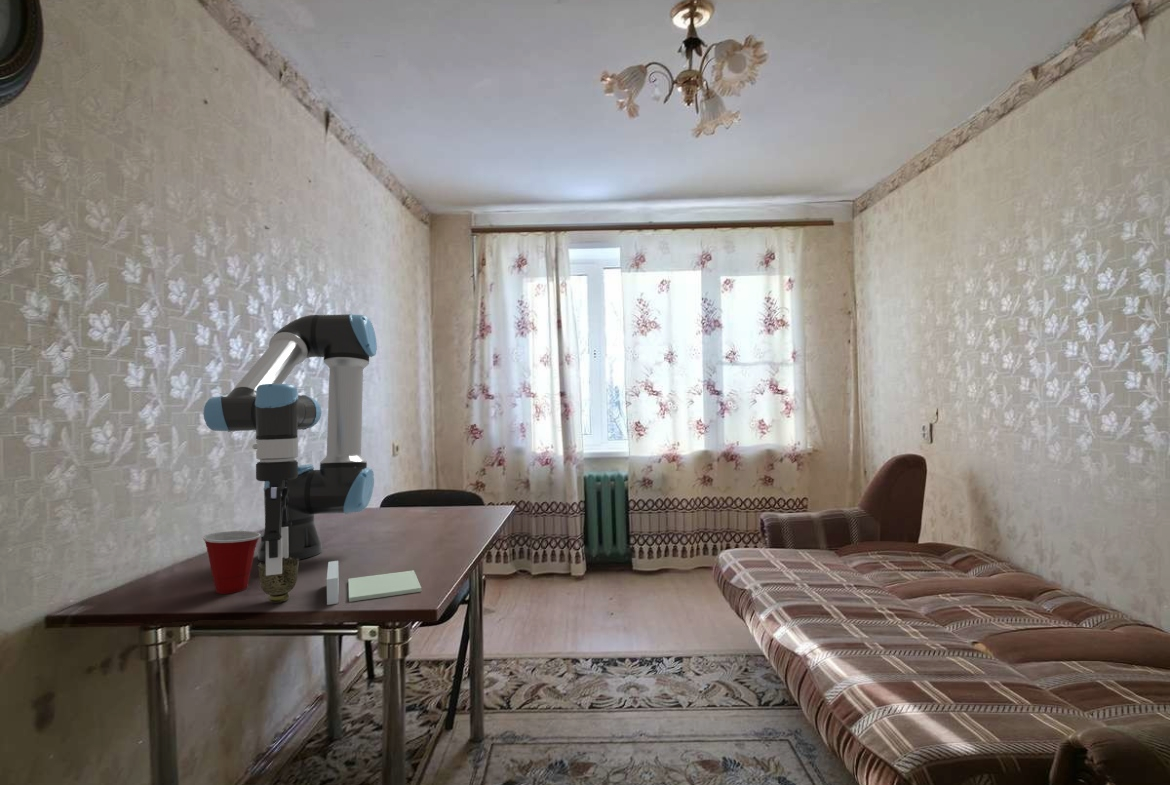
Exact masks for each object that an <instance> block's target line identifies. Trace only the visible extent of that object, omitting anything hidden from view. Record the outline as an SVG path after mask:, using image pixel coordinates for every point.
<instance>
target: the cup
mask: <svg viewBox="0 0 1170 785" xmlns="http://www.w3.org/2000/svg"><path fill="white" fill-rule="evenodd" d="M299 563H300V559H299V560H298V558H297V560H295V558H294V557H293V558H291V557H289V558H288V559H287V560H286V561H285V557H283V558H282V574H276V575H267V576H266V561H265V562H264V564H262V563H261V562H258V564H257V569H258V576H259V583H260V587H261V590H262V592H263V593H265V594H266V595H268V596H269V597H268V600H269V602H270V603H273V604H280V603H283V602H286V601H287V600H288V599H290V592H291V591H293V590H294V588H295V586H296V585H297V581H298V574H299Z"/></svg>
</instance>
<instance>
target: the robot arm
mask: <svg viewBox="0 0 1170 785" xmlns="http://www.w3.org/2000/svg"><path fill="white" fill-rule="evenodd" d="M375 332H376V331H375V329H374V325H373V323H372V321H371V319H370V318H369V317H367V316H366V315H363V314H352V313H349V314H348V313H347V314H311V315H310V314H309V315H305V316H302V317H299V318H297V319H294V320H292V321H291V322H288V323H287V324H285V325H284V326H283V327H281V328H280V329H279V330H277V331H276V332H275V333H274V335H273V336H272V337H271V338H270V339H269V343H268V347H267V349H266V350H265V352H263V354H262V355H260V357H259V358H258V360H257V361H256V362H255V363H254V364H253V365H252V367H251V368H250V369H249V370H248V372H246V374H244V376H243V377H242V378H241V380H240V381H238V383H237V384H236V386H235V387H234V388H233V389H232V390H231V391H230V393H229V394H228V395H227V396H222V395H220V396H215V397H211V398H208V399H207V400H206V403H205V404H204V406H203V407H204V408H203V420H204V422H205V425H206V426H207V427H208V429H209V430H211V431H216V432H230V433H231V432H243V431H246V432H247V431H255V442H256V443H255V444H253V445H252V449H253V450H256V452H255V453H256V454H255V459H257V460H259V461H258V462H257V463H256V464H255V479H256V481H259V482H264V484H263V485H264V487H263V498H264V500H263V502H264V504H263V505H264V531H263V534H262V535H261V536H260V542H259V544H258V545H259V546H258V547H257V560H258V561H259V562H264V563H265V561H266V576H267V575H276V574H282V558H283V557H285V561H286V560H287V559H288V558H289V557H291V558H293V557H294V558H295V560H297V558H298V560H299V561H300V560H303V559H307V558H311V557H314V556H317V555H318V554H320V553H321V552H322V551H323V550H322V549H323V548H322V545H323V544H322V540H321V537H320V536H319V532H318V530H317V527H316V525H315V515H326V514H332V515H333V514H351V513H353V514H354V513H360V512H361V513H362V511H363V512H364V510H366V508H367V507H368V505H369V504H370V501H371V499H372V496H373V491H374V485H375V478H374V471H373V469H372V468H370V467H367V466H368V463H367V460H366V459H365V458H364V457H363V456H362V431H363V430H362V428H363V427H362V425H363V391H364V390H363V385H364V383H363V382H364V380H363V379H364V369H365V368H366V367H368V366H369V364H370V358H372V357H374V356H376V354H377V350H378V349H377V348H378V345H377V337H376V333H375ZM309 358H310V359H311V358H323V363H324V365H326V366H327V367H328V369H329V371H328V372H329V375H328V376H329V377H328V405H327V406H328V407H327V429H326V430H327V433H326V436H327V437H326V456H325V457H324V458H323V459H322V460H321V461H320V462H319V469H315V467H314V465H313V464H303V465H299V462H298V461H297V460H296V458H297V457H299V438H298V432H299V430H303V431H304V430H307V429H310V428H312V427H314V426H316V425H317V424H318V422H319V421H320V420H321V417H322V407H321V405H320V403H319V402H318V401H317V400H316V399H315V398H313V397H311V396H307V395H305V394H301V395H300V394H298V388H297V386H296V385H295V384H292V383H284V381H285V380H286V379H287V378H288V377H289V375H290V374H291V373H292V371H293V369H294V368H295V367H296V366H297V365H299V364H302V363H303V362H304V361H305V360H306V359H309Z"/></svg>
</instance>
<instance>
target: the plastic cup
mask: <svg viewBox="0 0 1170 785" xmlns="http://www.w3.org/2000/svg"><path fill="white" fill-rule="evenodd" d="M261 537H262V534H261V533H260V532H259V531H257V532H256V531H252V530H251V531H249V530H233V531H229V530H228V531H219V532H213V533H209V534H205V535H204V536H202V538H203V541H204V544H205V547H206V552H207V556H208V560H209V565H210V570H211V577H212V579H213V583H214V589H215V590H216V591H215V592H216V593H217V594H221V595H222V594H223V595H224V594H226V595H227V594H234V593H238V592H241V591H244V590H246V589H247V588H248V586H249V583H250V582H249V580H250V574H251V571H252V567H253V562H254V556H255V550H256V548H257V547H256V546H257V544H258V540H259V539H260V538H261Z"/></svg>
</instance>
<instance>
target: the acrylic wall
mask: <svg viewBox="0 0 1170 785" xmlns="http://www.w3.org/2000/svg"><path fill="white" fill-rule="evenodd" d="M326 572H327V574H326V605H327V606H329V605H337V604H339V590H340V589H339V588H340V587H339V578H340V576H339V560H332V561H328V563H327V571H326Z"/></svg>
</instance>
